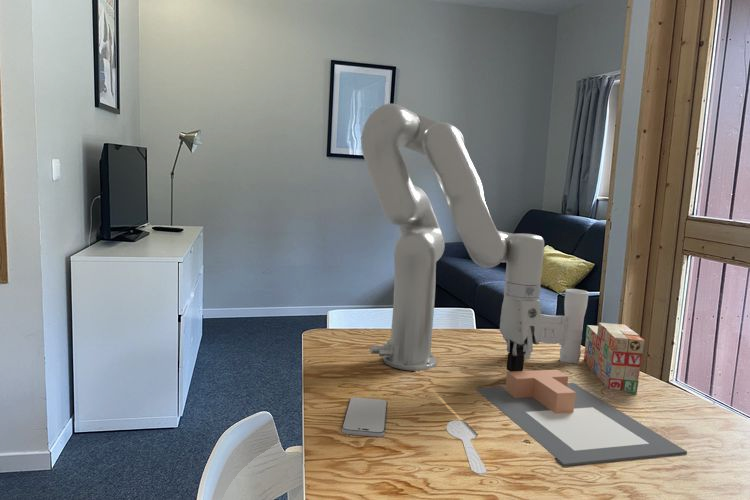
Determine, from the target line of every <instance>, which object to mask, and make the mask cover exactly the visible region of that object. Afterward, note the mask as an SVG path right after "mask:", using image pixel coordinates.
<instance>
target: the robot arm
mask: <svg viewBox="0 0 750 500" xmlns="http://www.w3.org/2000/svg"><path fill="white" fill-rule="evenodd" d="M360 144H361V150H362V151H361V152H362V156H363V158H364V162H365V164H366V167H367V170H368V173H369V175H370V178H371V181H372V184H373V185H372V186H373V188H374V190H375V194H376V195H377V198H378V201H379V203H380V206H381V209H382V213H383V215H384V217H385V218H386V220H388V222H389V223H391V224H393V225H395V226H398V227H399V231H400V233H401V235H400V236H399V238H398V240H397V242H396V244H395V247H394V253H393V265H394V267H393V268H394V281H393V282H394V286H393V305H392V319H391V334H390V339H388V340H386V343H383V344H382V345H377V344H376V345H370V347H369V351H370V354H371V355H375V354H376V355H378V357H382V361H383V363H384V364H385V365H387V366H389V367H391V368H393V369H399V370H405V371H410V372H411V371H424V370H425V371H426V370H430V369H432V368H435V367H436V365H437V358H436V356H434V355H433V354H431V352H432V340H433V339H432V337H433V326H434V313H435V300H436V286H437V285H436V283H437V282H436V281H437V280H436V277H437V275H436V274H437V272H436V271H437V262H438V261H439V260H440V259H441V258H442V256H443V255H444V251H445V247H446V246H445V238H444V236H443V232H442V230H441V227H440V225H439V221H438V219H437V216H436V214H435V212H434V209H433V205H432V203H431V200H430V199H429V197H428V195H427V194H426V192H425V191H424V190H423V189H422V188H421V187H419V186H417V185H414V182H413V180H412V178H411V176H410V173H409V171H408V167H407V164H406V162H405V160H404V157H403V155H402V154H401V150H400V148H399V147H400V146H401V147H403V148H406V149H408V150H411V151H413V152H416V153H419V154H421V155H423V156H426V158H427V160H428V162H429V164H430V167H431V169H432V170H433V173H434V175H435V177H436V179H437V181H438V184H439V186H440V188H441V190H442V192H443V195H444V197H445V200H446V203H447V206H448V209H449V212H450V213H451V216H452V219H453V222H454V224H455V226H456V229H457V231H458V234H459V236H460V238H461V240H462V243H463V245H464V247H465V249H466V251H467V253H468V255H469V258H471V260H472V261H473V262H474V264H476V265H478V266H479V267H481V268H486V269H488V268H490V269H491V268H494V267H496V266H498V265H499V264H500V263H506V268H505V280H504V289H503V290H504V292H503V301H502V305H501V312H500V318H499V322H500V323H499V331H500V334H501V335H502V338H503V340H504V341H505V342H506V351H507V360H506V371H507V372H515V371H524V363H525V359H524V355H526V352H531V353H532V352H533V351H534V346H533V344H534V345H539V344H540V343H541V342H540V335H541V322H542V321H541V314H542V304H541V300H540V292H541V282H542V273H543V262H544V252H545V240H544V238H543V237H542V236H540V235H539V234H538V235H537V234H532V233H511V232H506V231H501V230H498V229H497V227H496V225H495V222H494V221H493V219H492V216H491V214H490V211H489V209H488V206H487V204H486V201H485V195H484V187H483V182H482V181H481V178H480V176H479V174H478V172H477V169H476V167H475V165H474V163H473V161H472V159H471V158H470V155H469V152H468V149H467V148H466V146H465V144H466V143H465V139H464V135H463V134H462V132H461V131H460V129H458V128H457V127H456V126H455V125H453V124H451V123H450V122H446V121H445V122H444V121H441V122H440V121H436V120H434V119H432V118H430V117H426V116H424V115H421V114H418V113H416V112H414V111H411V110H409V109H408V108H406V107H404V106H403V105H400V104H397V103H385V104H382V105H380V106H378V107H376V109H374V110H373V111H372V112H371V113H370V114H369V116H368V117H367V119H366V121H365V123H364V125H363V129H362V131H361V141H360Z"/></svg>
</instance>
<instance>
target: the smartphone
mask: <svg viewBox="0 0 750 500" xmlns="http://www.w3.org/2000/svg"><path fill="white" fill-rule="evenodd" d="M387 412H388V401H387V400H384V399H379V398H370V397H369V398H366V397H356V396H355V397H350V398H349V401H348V404H347V408H346V412H345V416H344V418H343V423H342V425H341V432H342V433H343V434H345V435H354V436H364V437H365V436H366V437H377V438H378V437H379V438H381V437H383V436H385V434H386V433H385V431H386V424H387Z"/></svg>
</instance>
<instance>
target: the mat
mask: <svg viewBox="0 0 750 500" xmlns="http://www.w3.org/2000/svg"><path fill="white" fill-rule="evenodd" d="M567 387H568V388H570V389H571V390H573V391H574V392H576V395H575V403H574V412H570V413H556V414H555V413H554V412H553V411H551V410H550V409H548V408H547V407H546V406H544V405H543V404H542V403H540V402H539V401H537V400H536V399H535V398H533V397H522V398H514V397H513V396H512V395H511V394H509V393H508V392H507V391H505V386H503V385H502V386H488V387H474V389H475V391H477V392H479V393H480V394H481V395H482V396H483V397H484V398H485V399H487V400H488V401H489V402H490V403H492V404H493V405H494V406H495V407H496V408H497V409H498V410H500V411H501V412H502V413H503V414H504V415H505V416H506V417H508V418H509V419H510V420H511V421H513V423H514V424H516V425H517V426H518V427H520V428H521V429H522V430H523V432H525V433H527V434H528V435H529V436H530V437H531V438H532V439H533V440H535V441H536V442H537V443H538V444H539V445H541V446H542V447H543V448H544V449H546V450H547V452H549V454H551V456H553V457H554V460H555V461H557V462H558V463H559V464H560V465H561V466H562V467H571V466H579V465H580V466H581V465H589V464H591V465H592V464H599V463H601V464H602V463H608V462H620V461H628V460H629V461H630V460H636V459H638V460H639V459H647V458H657V457H658V458H659V457H668V456H677V455H686V454H687V453H688V451H687V450H685V449H684V448H682V447H681V446H679V445H677V444H675V443H674V442H672V441H670V439H667V438H666V437H664V436H662V435H661V434H659V433H657V432H655V431H654V430H652V429H650V428H649V427H648V426H646V425H644V424H642V423H641V422H639V421H637V420H636V419H634V418H633V417H631V416H629V415H627V414H626V413H624V412H623V411H621V410H619V409H617V408H616V407H614V406H612V405H611V404H609V403H608V402H605V401H604V400H603V399H601V398H599V397H598V396H596V395H594V394H592V393H591V392H590V391H587V390H586V389H584V388H583V387H581V386H579V385H577V384H576V383H574V382H568V383H567Z"/></svg>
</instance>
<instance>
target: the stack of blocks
mask: <svg viewBox="0 0 750 500" xmlns="http://www.w3.org/2000/svg"><path fill="white" fill-rule="evenodd" d="M644 345H645V339H643V338H642V337H641V336H640V335H639V334H638V333H637V332H635V330H633V329H631V328H629V326H627V325H626V324H622V323H621V324H619V323H609V322H608V323H607V322H598V325H590V324H589V325H588V324H587V325H586V331H585V343H584V354H583V361H584V362H585V363H586V364H587V367H589V368H590V370H591V371H592V372H593V373H594V375H595V376H597V377H598V378H599V379H600V380H601V381H602V383H603V385H604V386H605V387H606V389H607V390H616V391H624V392H626V393H629V394H636V395H637V393H638V388H639V387H638V386H639V377H640V372H641V366H642V360H643V351H644Z"/></svg>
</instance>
